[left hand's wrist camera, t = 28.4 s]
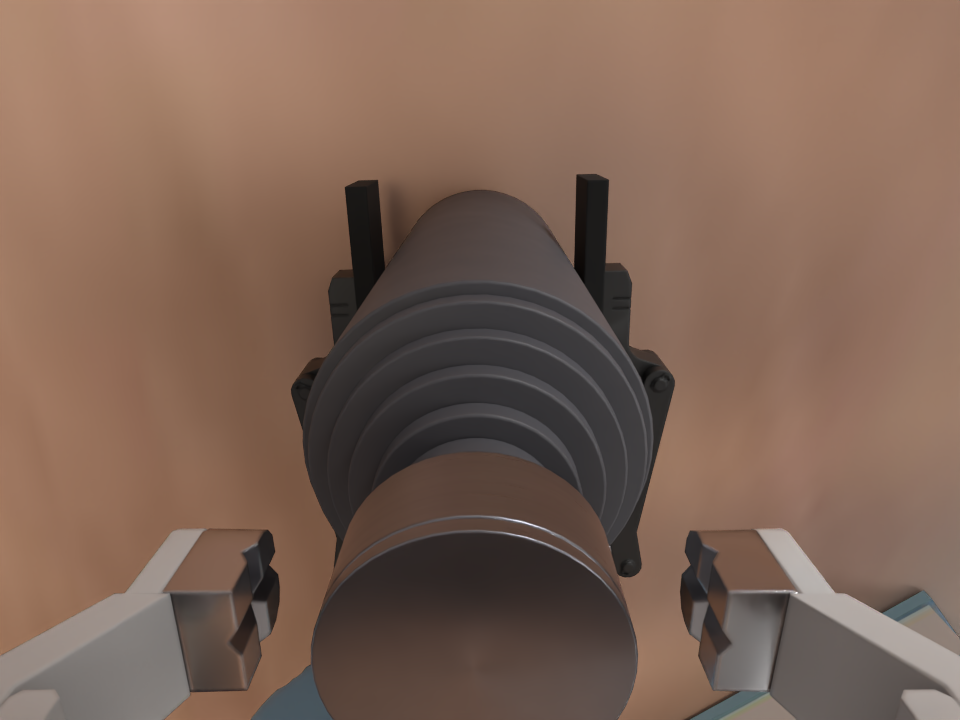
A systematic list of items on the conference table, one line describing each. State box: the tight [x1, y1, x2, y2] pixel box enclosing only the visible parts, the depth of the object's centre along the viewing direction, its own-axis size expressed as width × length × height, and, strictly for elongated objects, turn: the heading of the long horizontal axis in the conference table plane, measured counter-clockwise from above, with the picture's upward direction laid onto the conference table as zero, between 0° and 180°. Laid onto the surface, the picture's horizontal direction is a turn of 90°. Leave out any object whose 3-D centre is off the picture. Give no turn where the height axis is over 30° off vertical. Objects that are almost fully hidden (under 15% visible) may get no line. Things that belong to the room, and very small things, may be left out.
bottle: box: [303, 190, 653, 546], centre depth 20 cm, size 8×8×24 cm
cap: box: [311, 451, 638, 720], centre depth 10 cm, size 4×4×2 cm
